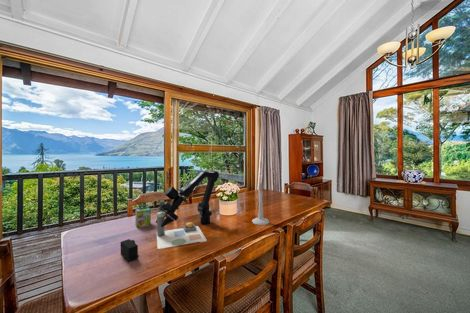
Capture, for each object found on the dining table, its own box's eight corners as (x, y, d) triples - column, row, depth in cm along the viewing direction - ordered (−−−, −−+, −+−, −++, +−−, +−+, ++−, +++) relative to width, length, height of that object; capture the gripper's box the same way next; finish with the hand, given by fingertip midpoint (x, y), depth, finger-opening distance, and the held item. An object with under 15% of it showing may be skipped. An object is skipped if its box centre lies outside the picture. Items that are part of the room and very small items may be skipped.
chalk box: (136, 228, 134) (136, 207, 133) (135, 224, 142) (134, 204, 141) (151, 225, 139) (151, 205, 139) (148, 221, 147) (148, 202, 146)
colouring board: (197, 226, 138) (197, 225, 138) (206, 241, 116) (206, 240, 116) (156, 232, 127) (156, 231, 127) (157, 250, 105) (157, 248, 105)
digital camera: (140, 258, 98) (140, 244, 97) (128, 262, 93) (128, 248, 93) (131, 251, 104) (131, 238, 104) (120, 255, 100) (120, 241, 100)
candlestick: (268, 219, 153) (269, 181, 152) (269, 225, 140) (270, 183, 139) (252, 218, 154) (252, 180, 153) (252, 224, 142) (252, 183, 141)
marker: (164, 232, 126) (164, 211, 125) (165, 235, 121) (165, 213, 121) (156, 234, 124) (156, 212, 123) (157, 237, 119) (157, 214, 119)
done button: (192, 225, 134) (192, 221, 134) (193, 227, 130) (193, 224, 130) (185, 226, 133) (185, 222, 132) (186, 228, 128) (186, 225, 128)
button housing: (193, 226, 136) (193, 223, 136) (196, 230, 130) (196, 227, 129) (183, 228, 133) (183, 225, 133) (184, 232, 127) (184, 229, 127)
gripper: (161, 194, 131) (144, 213, 125) (173, 199, 117) (154, 221, 110) (172, 203, 137) (156, 223, 130) (185, 209, 123) (168, 232, 116)
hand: (158, 224), depth 121 cm, fingers open, 8 cm apart
